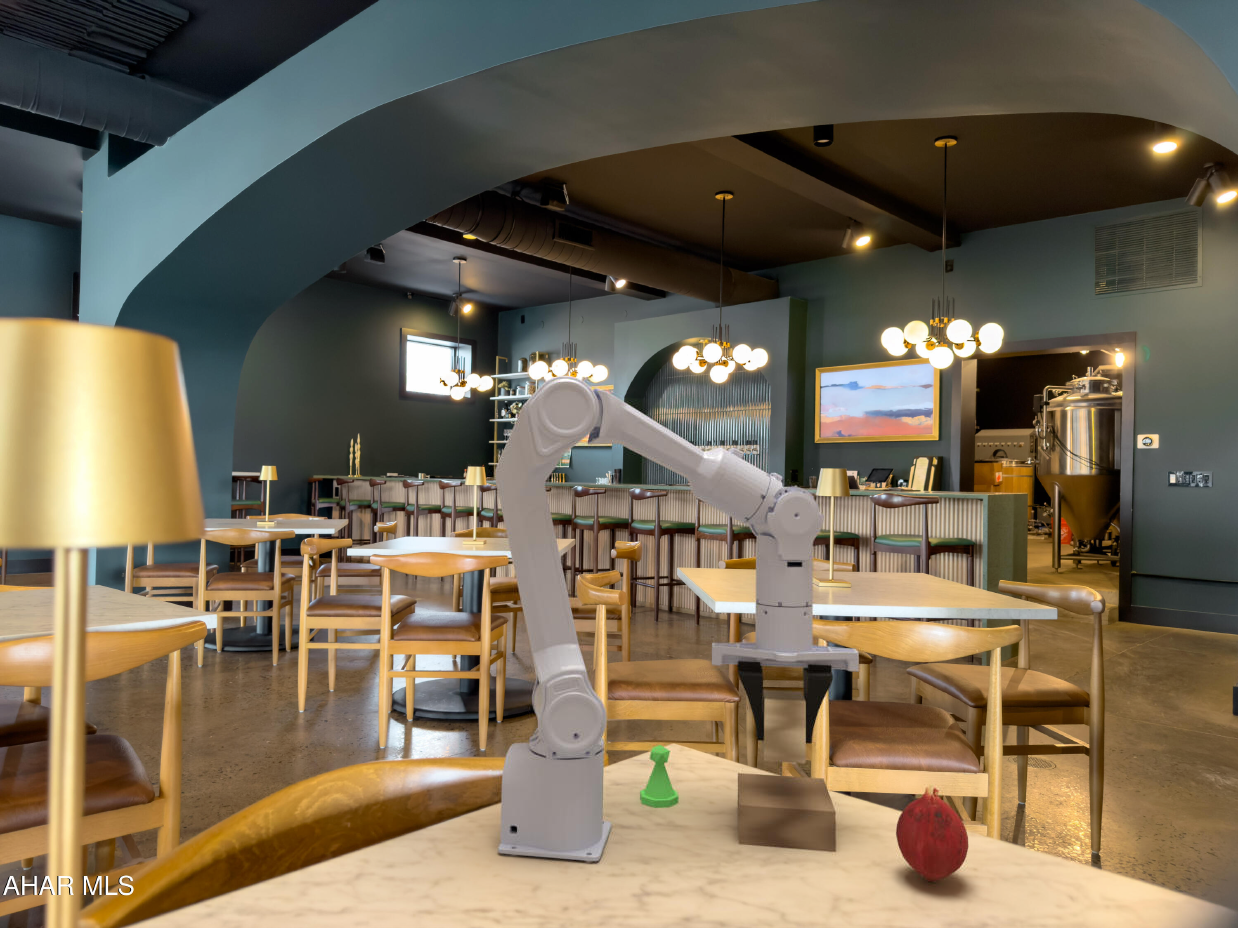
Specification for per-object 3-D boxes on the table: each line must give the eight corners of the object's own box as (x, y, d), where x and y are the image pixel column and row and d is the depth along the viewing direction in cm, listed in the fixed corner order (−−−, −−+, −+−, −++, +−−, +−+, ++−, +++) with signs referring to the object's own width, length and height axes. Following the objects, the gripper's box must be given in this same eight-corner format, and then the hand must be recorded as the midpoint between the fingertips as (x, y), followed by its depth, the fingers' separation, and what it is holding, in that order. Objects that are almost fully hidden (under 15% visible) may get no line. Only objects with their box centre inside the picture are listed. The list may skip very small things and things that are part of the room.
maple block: (764, 760, 75) (764, 699, 75) (762, 748, 79) (762, 689, 79) (805, 763, 75) (805, 701, 75) (801, 750, 79) (801, 691, 79)
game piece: (634, 804, 82) (635, 748, 82) (645, 790, 86) (646, 737, 86) (673, 810, 81) (674, 752, 81) (682, 795, 85) (683, 741, 85)
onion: (976, 902, 63) (975, 803, 63) (902, 893, 64) (902, 796, 64) (959, 869, 68) (958, 778, 69) (891, 862, 69) (891, 773, 70)
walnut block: (738, 847, 73) (739, 804, 73) (737, 810, 82) (737, 772, 82) (835, 855, 71) (835, 811, 72) (823, 816, 80) (823, 778, 81)
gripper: (711, 606, 75) (710, 746, 74) (864, 611, 73) (864, 756, 72) (713, 597, 82) (711, 726, 81) (852, 602, 80) (852, 734, 79)
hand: (783, 739), depth 77 cm, fingers closed on maple block, 4 cm apart
